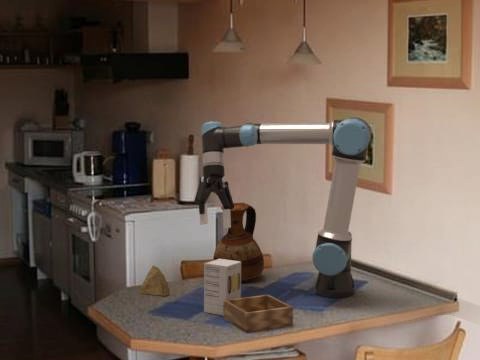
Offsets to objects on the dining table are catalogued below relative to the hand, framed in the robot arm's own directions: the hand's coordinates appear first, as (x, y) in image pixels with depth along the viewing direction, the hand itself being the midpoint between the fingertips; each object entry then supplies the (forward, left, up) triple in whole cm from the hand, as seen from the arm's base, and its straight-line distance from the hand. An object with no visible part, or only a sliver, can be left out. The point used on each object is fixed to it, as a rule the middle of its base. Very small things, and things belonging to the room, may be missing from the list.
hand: (215, 226), depth 280 cm
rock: (+15, -19, -27) cm, 37 cm away
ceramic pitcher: (-22, -27, -27) cm, 44 cm away
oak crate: (-3, +27, -27) cm, 38 cm away
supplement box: (+2, +11, -27) cm, 29 cm away
